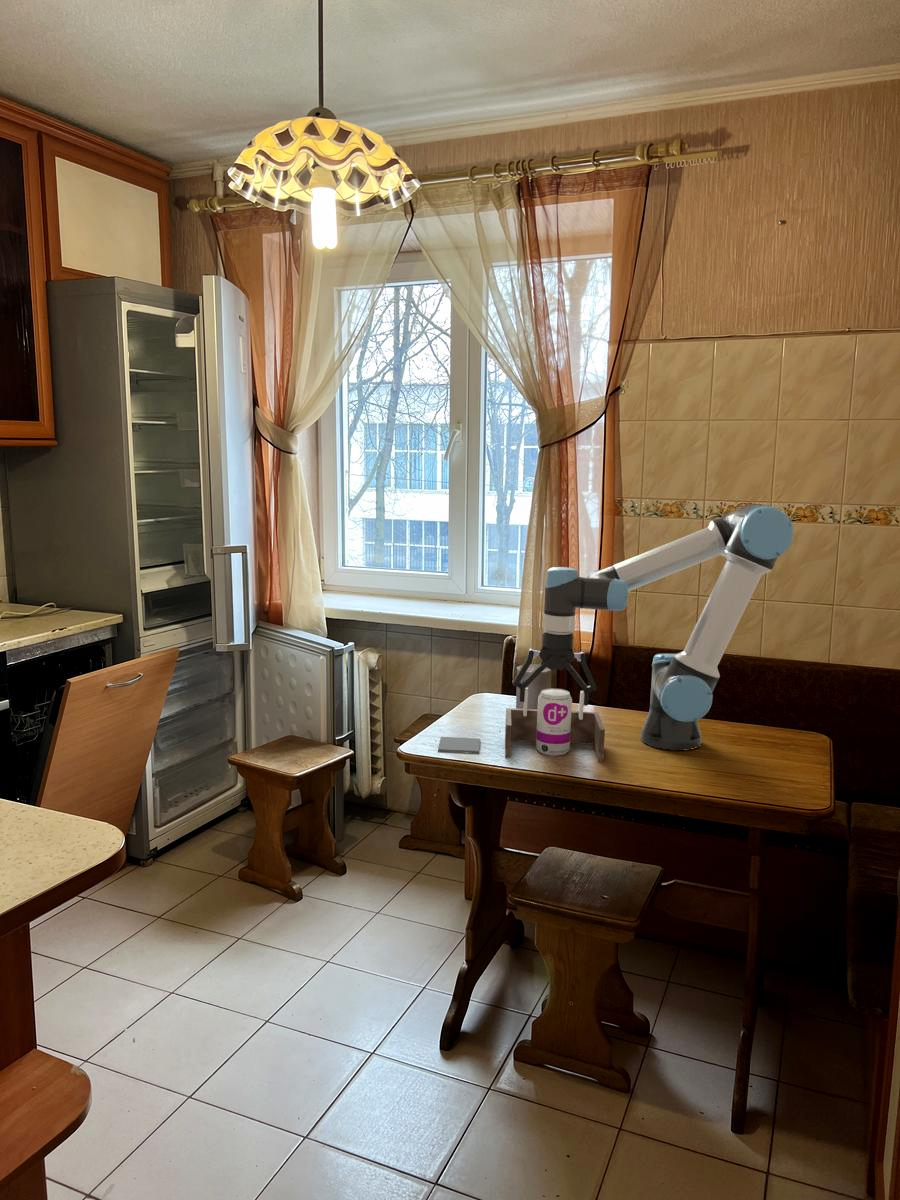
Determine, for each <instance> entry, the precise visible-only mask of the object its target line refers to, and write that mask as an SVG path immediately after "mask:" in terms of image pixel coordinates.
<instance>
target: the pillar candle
mask: <svg viewBox="0 0 900 1200" xmlns="http://www.w3.org/2000/svg"><path fill="white" fill-rule="evenodd" d="M522 665H523V664H521V665H519V666H517V667H516V675H517V674H518V672H519V670H520V669H521V667H522ZM538 665H539V664H538V663H537V664H536V663H533V664H532V663H531V664H530V666H529V667H528V669H527V671H526V672H525V674H524V676H523V678H522V679H521V681H520V682H523V681H524V680H525V679H526V678H527V676H528V675H529V674H530V673H531V672H532V671H533V670H534V669H535V668H536V667H537V666H538ZM526 688H528V701H527V709H536V710H538V697H539V695H540V693H541V691H542V690H544V689H552V670H551V669H549V668H547V667H546V668H545V669H544V670H543V671H542V672H541V673H540V674H539V675H538V676H537V677H536V678H535V679H534V680H533V681H532V682H531V683H530V684H529V685H528V686H527V687H526ZM515 695H516V697H515V709H524V702H520V688H518V687H516V694H515Z"/></svg>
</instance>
